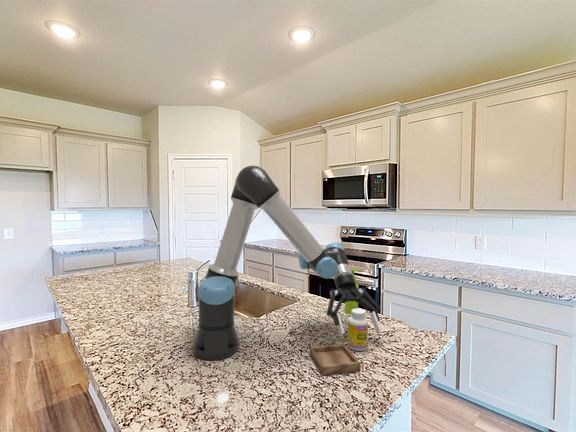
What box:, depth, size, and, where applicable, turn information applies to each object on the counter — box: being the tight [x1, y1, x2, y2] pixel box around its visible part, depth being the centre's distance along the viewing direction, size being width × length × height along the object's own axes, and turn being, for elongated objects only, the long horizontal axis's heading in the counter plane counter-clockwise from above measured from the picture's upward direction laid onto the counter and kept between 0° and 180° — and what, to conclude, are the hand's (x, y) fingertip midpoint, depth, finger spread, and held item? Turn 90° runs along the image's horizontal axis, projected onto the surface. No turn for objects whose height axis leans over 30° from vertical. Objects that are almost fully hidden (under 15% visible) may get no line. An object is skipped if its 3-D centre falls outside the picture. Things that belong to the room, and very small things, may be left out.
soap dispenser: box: [344, 268, 362, 315], centre depth 136 cm, size 6×7×20 cm
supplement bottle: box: [347, 308, 369, 352], centre depth 103 cm, size 7×7×13 cm
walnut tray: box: [309, 343, 361, 377], centre depth 93 cm, size 12×12×2 cm
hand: (360, 332), depth 101 cm, fingers open, 13 cm apart
